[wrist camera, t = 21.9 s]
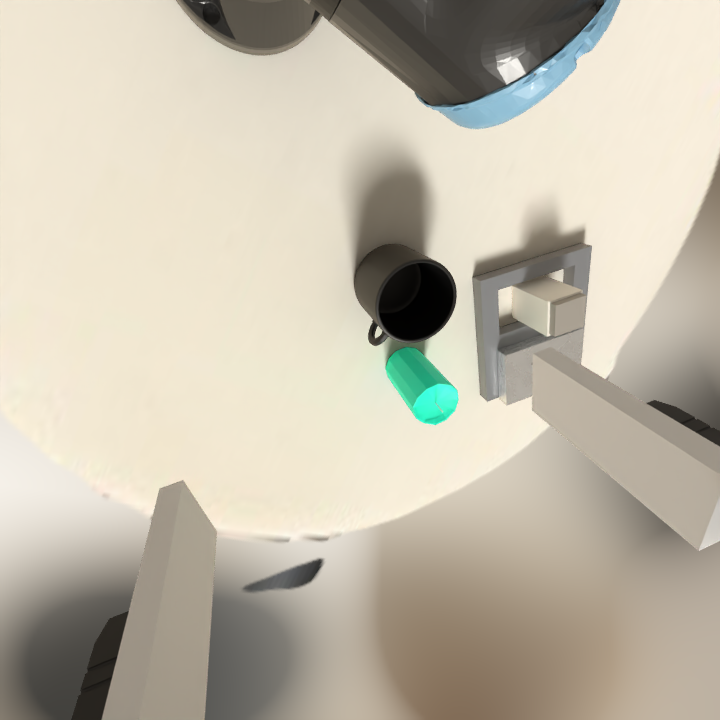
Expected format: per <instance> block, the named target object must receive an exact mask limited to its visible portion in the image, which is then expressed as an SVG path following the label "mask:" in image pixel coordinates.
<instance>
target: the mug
mask: <svg viewBox="0 0 720 720" xmlns="http://www.w3.org/2000/svg"><path fill="white" fill-rule="evenodd" d="M355 293H356V296H357V299H358V301H359V303H360V304H361V306H362V307H363V308H364V309H365V311H366V312H367V313H368V314H369V315H370V316H371V318H372V319H373V321H372V322H373V323H372V325H371V327H370V329H369V333H368V340H369V342H370V343H371V344H372V345H373V346H377V345H380V344H381V343H383V342H384V341H385V340H386V339H387V337H391V338H392V339H394V340H397V341H400V342H404V343H415V342H420V341H423V340H426V339H428V338H430V337H432V336H433V335H435V334H436V333H438V332H439V331H440V330H441V329H442V328H443V327H444V326H445V325H446V323H447V322H448V320H449V319H450V317H451V315H452V313H453V311H454V308H455V304H456V297H457V296H456V285H455V282H454V279H453V277H452V275H451V274H450V272H449V271H448V270H447V269H446V268H445V267H444V266H443V265H442V264H440V263H438V262H436V261H434V260H432V259H430V258H428V257H426V256H424V255H422V254H420V253H418V252H416V251H414V250H412V249H410V248H408V247H406V246H403V245H399V244H388V245H384V246H381V247H379V248H377V249H375V250H373V251H372V252H371V253H369V254H368V255H367V256H366V257H365V258H364V260H363V261H362V262H361V264H360V266H359V268H358V270H357V273H356V276H355ZM377 326H379V327H380V328H381V329H382V330H383V331H382V334H381V335H380V336H379V337H378V338H375V331H376V329H377Z"/></svg>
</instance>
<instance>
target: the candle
mask: <svg viewBox="0 0 720 720" xmlns="http://www.w3.org/2000/svg"><path fill="white" fill-rule="evenodd" d="M386 372H387V375H388V378H389V379H390V381H391V382H392V384H393V385H394V387H395V388H396V390H397V391H398V392H399V394H400V395H401V397H402V398H403V400H404V401H405V403H406V404H407V406H408V407H409V408H410V410H411V411H412V413H413V414H414V416H415V417H416V419H418V420H419V421H421V422H423V423H426V424H433V425H437V424H439V423H441V422H443V421H445V420H447V419H448V417H449V416H450V415H451V414H452V413H453V412H454V411H455V409H456V406H457V403H458V392H457V390H456V389H455V387H454V386H453V385H452V384H451V383H450V382H449V381H448V380H447V379H446V378H445V377H444V376H443V375H442V374H441V373H440V372H439V371H438V370H437V369H436V368H435V366H434V365H433V364H432V363H431V362H430V361H429V360H428V359H427V358H426V357H425V356H424V355H423V354H422V353H421V352H420V351H418V350H417V349H416V348H411V347H405V348H402V349H400V350H397V351H395V352H394V353H393V355H392V356H391V357H390V358H389V359H388V362H387V366H386Z"/></svg>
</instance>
